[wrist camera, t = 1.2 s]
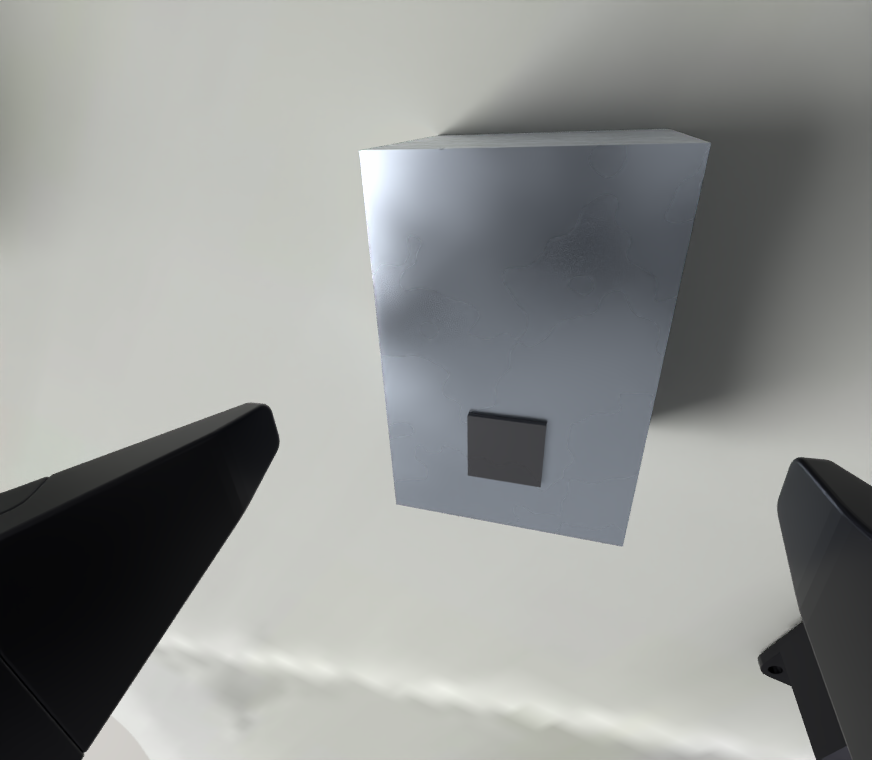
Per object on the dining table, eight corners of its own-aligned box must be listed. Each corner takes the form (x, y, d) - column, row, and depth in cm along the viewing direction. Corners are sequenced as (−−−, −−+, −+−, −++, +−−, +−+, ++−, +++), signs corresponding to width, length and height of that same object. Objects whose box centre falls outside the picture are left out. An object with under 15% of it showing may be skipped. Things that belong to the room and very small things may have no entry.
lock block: (668, 128, 12) (712, 143, 7) (615, 423, 16) (622, 551, 12) (439, 135, 14) (355, 151, 9) (447, 402, 18) (394, 507, 13)
